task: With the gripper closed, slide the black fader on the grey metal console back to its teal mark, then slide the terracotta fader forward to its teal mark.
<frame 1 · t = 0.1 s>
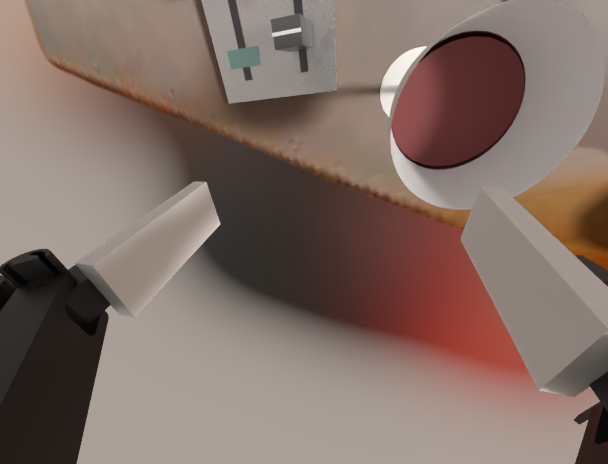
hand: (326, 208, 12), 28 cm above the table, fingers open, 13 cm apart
fader black: (294, 35, 26), point 5 cm above the table, slide at 3.5 cm
console: (270, 8, 29), on the table
wineglass: (414, 88, 31), on the table
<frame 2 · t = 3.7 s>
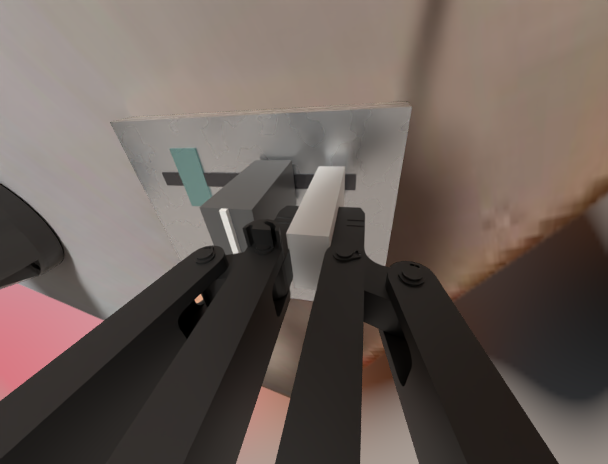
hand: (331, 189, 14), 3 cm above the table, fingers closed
fader black: (258, 206, 13), point 6 cm above the table, slide at 2.0 cm, touching gripper
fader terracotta: (213, 291, 19), point 6 cm above the table, slide at -3.5 cm
console: (270, 215, 20), on the table
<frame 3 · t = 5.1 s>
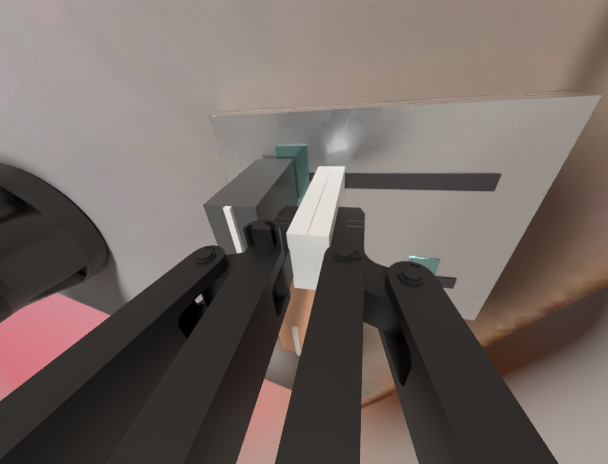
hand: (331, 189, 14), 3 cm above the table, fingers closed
fader black: (260, 204, 13), point 6 cm above the table, slide at -5.5 cm, touching gripper
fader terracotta: (307, 302, 17), point 6 cm above the table, slide at -3.5 cm
console: (361, 218, 18), on the table
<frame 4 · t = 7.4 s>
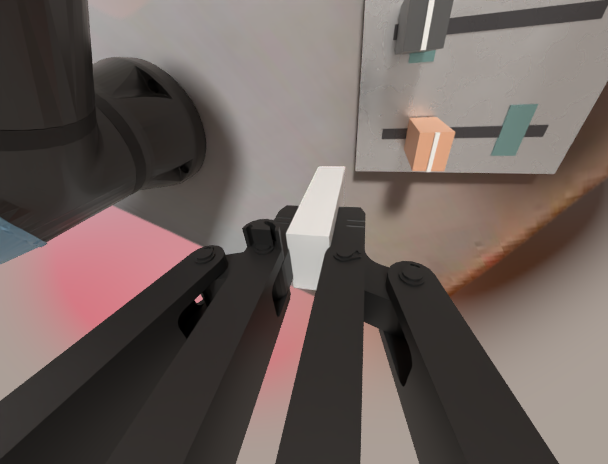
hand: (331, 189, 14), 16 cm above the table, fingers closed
fader black: (419, 25, 16), point 6 cm above the table, slide at -5.5 cm
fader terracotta: (425, 142, 20), point 6 cm above the table, slide at -3.5 cm
console: (464, 82, 22), on the table
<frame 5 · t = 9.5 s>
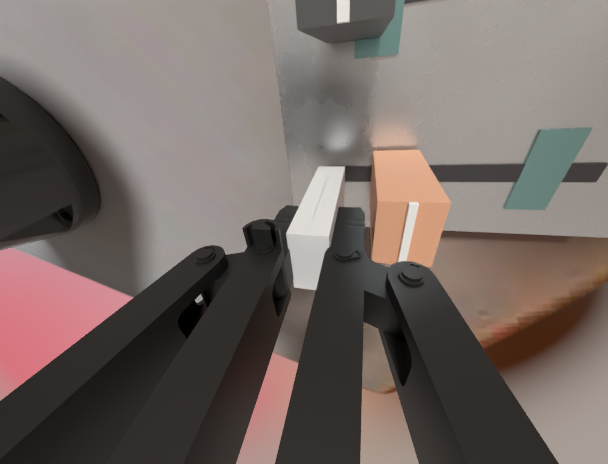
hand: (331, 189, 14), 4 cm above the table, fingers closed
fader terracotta: (398, 200, 11), point 5 cm above the table, slide at -3.1 cm, touching gripper
console: (457, 88, 13), on the table
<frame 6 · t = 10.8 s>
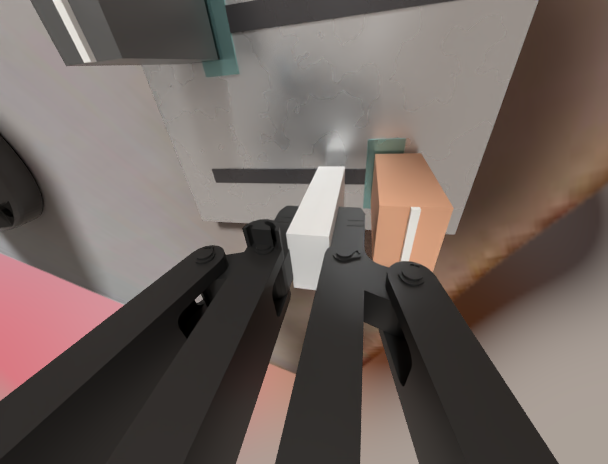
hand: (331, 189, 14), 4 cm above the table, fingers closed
fader black: (139, 14, 9), point 6 cm above the table, slide at -5.5 cm
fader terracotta: (399, 204, 11), point 5 cm above the table, slide at 5.1 cm, touching gripper
console: (311, 102, 14), on the table
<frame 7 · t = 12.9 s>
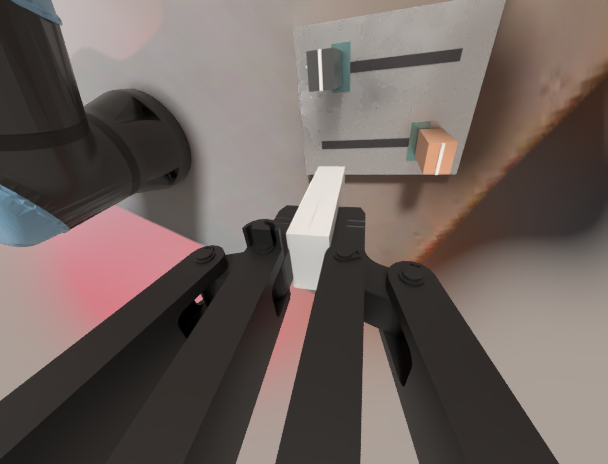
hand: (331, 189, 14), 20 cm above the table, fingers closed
fader black: (326, 70, 23), point 6 cm above the table, slide at -5.5 cm
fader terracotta: (433, 150, 25), point 6 cm above the table, slide at 5.5 cm
console: (380, 104, 28), on the table
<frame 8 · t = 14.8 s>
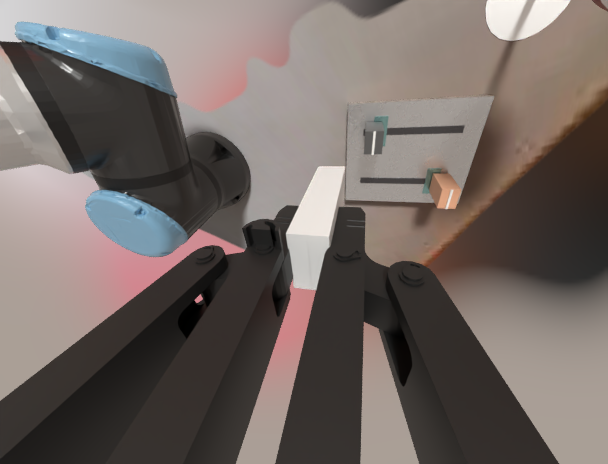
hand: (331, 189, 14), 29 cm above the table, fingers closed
fader black: (373, 137, 34), point 6 cm above the table, slide at -5.5 cm
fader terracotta: (443, 190, 36), point 5 cm above the table, slide at 5.5 cm
console: (405, 153, 39), on the table
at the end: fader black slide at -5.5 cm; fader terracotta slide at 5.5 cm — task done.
